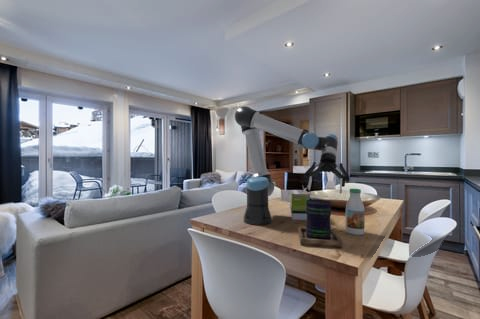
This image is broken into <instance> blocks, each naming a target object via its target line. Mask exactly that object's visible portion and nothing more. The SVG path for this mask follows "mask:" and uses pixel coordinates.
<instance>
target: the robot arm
mask: <svg viewBox="0 0 480 319" xmlns="http://www.w3.org/2000/svg"><path fill="white" fill-rule="evenodd" d="M234 120H235V122H236V124H237V125H238V126H240V129H241V134H243V135H244V137H245V140H246V145H247V149H248V150H247V151H248V155H249V160H250V164H251V168H252V175H251V177H250V178H248V179H247V180H246V207H245V212H244V215H243V222H244V223H246V224H249V225H253V226H255V225H256V226H257V225H258V226H259V225H260V226H261V225H262V226H263V225H269V224H271V223H272V217H273V216H272V214H271V211H270V207H269V196H271V195H272V194H273V193H274V190H275V183H274V181H273V180H272V176H271V175H272V174H271V172H269V171H268V169H267V163H266V160H265V154H264V150H263V145H262V144H263V143H262V139H261V137H260V136H261V134H260V132H261V131H263V132H266V133H269V134H271V135H274V136H277V137H279V138H282V139H284V140H287V141H289V142H292V143H294V144H297V145H299V147H300V148H301V149H303V150H304V149H305V150H314V151H319V152H320V160H319V163H316V162H315V161H314V162H312V164H311V166H310V167H308V169H307V170H306V171H305V172H304V173H303V176H304V179H306V183H307V188H308V189H307V190H308V191H311V187H312V183H313V182H312V181H313V178H314V177H316V176H317V175H318V174H321V173H323V172H324V173H326V172H327V173H332V174H333V175H335V176H336V177H337V178H338V179H339V180H340V182H339V194H342V192H343V187H344V188H345V186H346V182H349V181H350V179H351V178H350V175H349V173H348V172H347V170H346V169H345V168H344V166H343V163H342V162H340V163H337V155H338V154H337V153H338V144H339V142H338V140H339V139H338V137H337V136H336V134H334V133H328V134H326V135H324V136H318V135H317V134H316V133H314V132H312V131H311V132H309V131H306V130H304V129H301V128H299V127H296V126H293V125H291V124H287V123H285V122H282V121H280V120H276V119H274V118H272V117H269V116H266V115H264V114H260V111H258V110H255V109H253V108H251V107H250V106H248V105H243V106H241V107H239V108H237V110H236V111H235V114H234ZM337 168H338V169H337Z"/></svg>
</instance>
